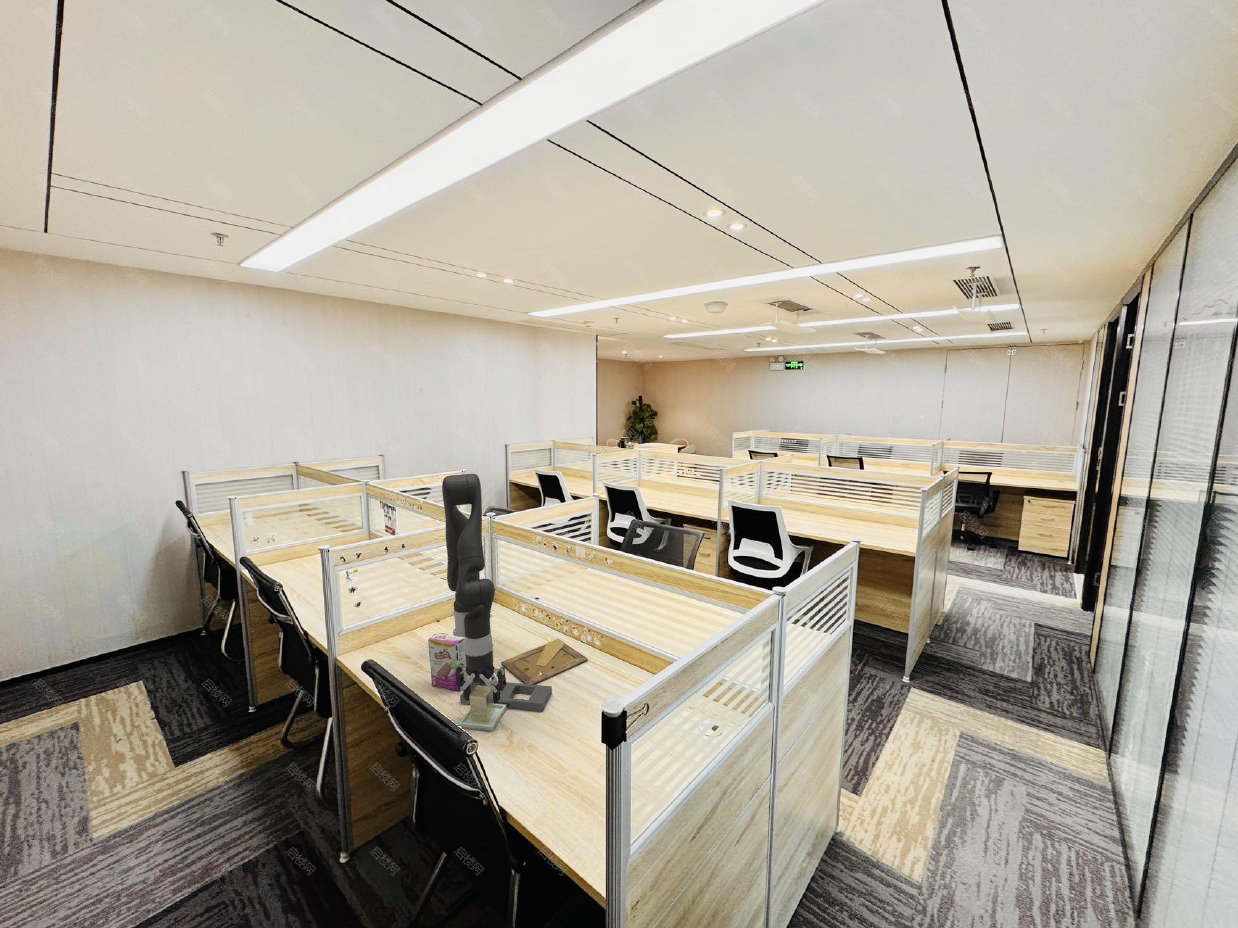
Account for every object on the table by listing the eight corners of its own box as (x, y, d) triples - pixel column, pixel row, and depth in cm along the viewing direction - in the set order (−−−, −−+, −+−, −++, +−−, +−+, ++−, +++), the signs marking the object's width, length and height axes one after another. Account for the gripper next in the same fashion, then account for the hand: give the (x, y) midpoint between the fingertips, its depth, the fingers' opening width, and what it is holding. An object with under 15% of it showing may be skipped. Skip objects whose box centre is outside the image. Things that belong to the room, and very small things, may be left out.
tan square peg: (471, 721, 144) (469, 695, 143) (479, 710, 149) (477, 685, 148) (487, 722, 143) (485, 697, 142) (495, 711, 148) (493, 686, 147)
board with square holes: (460, 703, 153) (460, 695, 153) (474, 686, 162) (473, 679, 162) (542, 711, 149) (542, 703, 148) (552, 693, 158) (551, 686, 157)
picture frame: (558, 642, 190) (501, 666, 175) (558, 638, 190) (500, 661, 175) (588, 662, 176) (528, 689, 161) (588, 657, 176) (528, 684, 161)
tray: (459, 728, 142) (458, 723, 142) (475, 706, 152) (474, 701, 152) (492, 731, 141) (492, 726, 140) (506, 709, 150) (506, 704, 150)
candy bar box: (430, 686, 163) (426, 638, 160) (441, 677, 167) (437, 631, 165) (460, 692, 159) (456, 643, 157) (469, 683, 164) (466, 636, 161)
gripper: (448, 653, 141) (452, 706, 143) (497, 657, 138) (500, 711, 141) (461, 639, 148) (465, 690, 150) (507, 643, 145) (510, 695, 148)
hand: (482, 700), depth 145 cm, fingers open, 8 cm apart
